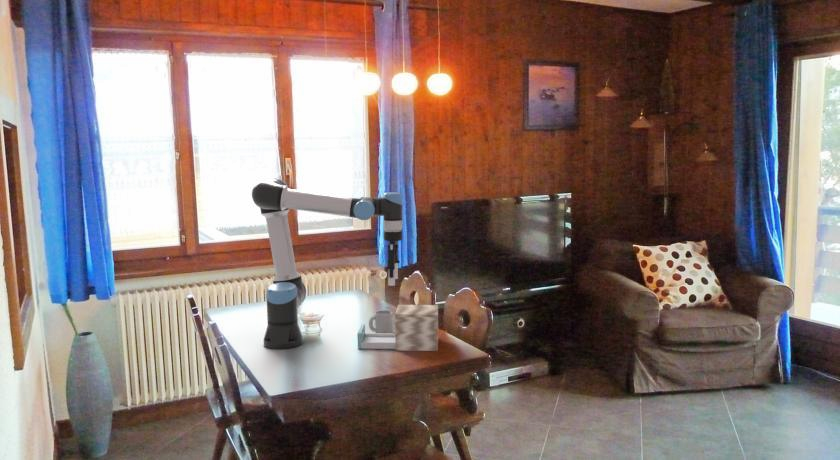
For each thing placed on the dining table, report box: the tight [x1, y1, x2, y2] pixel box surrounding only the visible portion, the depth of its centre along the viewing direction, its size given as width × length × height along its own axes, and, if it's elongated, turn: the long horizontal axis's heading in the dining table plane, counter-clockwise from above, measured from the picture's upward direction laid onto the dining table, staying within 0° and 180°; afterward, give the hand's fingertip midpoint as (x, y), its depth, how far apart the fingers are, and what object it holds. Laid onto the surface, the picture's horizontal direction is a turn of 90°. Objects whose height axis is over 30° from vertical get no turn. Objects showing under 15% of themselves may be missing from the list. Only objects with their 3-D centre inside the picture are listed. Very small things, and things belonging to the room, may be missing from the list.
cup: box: [368, 309, 394, 333], centre depth 269 cm, size 7×10×9 cm
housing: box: [394, 304, 439, 352], centre depth 253 cm, size 16×15×14 cm
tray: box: [357, 323, 396, 350], centre depth 254 cm, size 19×13×6 cm
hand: (393, 282), depth 266 cm, fingers open, 13 cm apart
